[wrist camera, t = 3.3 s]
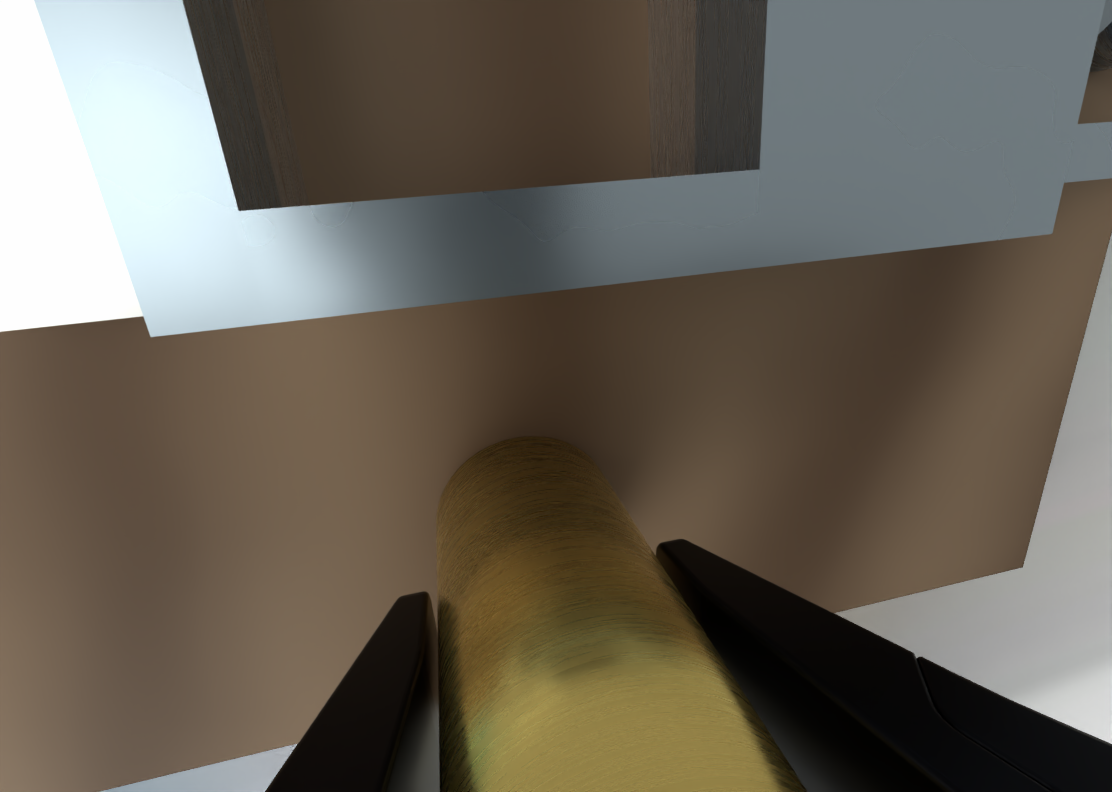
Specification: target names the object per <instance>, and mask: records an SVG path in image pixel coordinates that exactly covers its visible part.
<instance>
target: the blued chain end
mask: <svg viewBox="0 0 1112 792" xmlns="http://www.w3.org/2000/svg"><path fill="white" fill-rule="evenodd" d="M34 2H35V5H36V8H37V10H38V13H39V16H40V19H41V22H42V25H43V28H44V31H45V34H46V36H47V39H48V42H49V45H50V48H51V51H52V54H53V57H54V60H55V62H56V65H57V68H58V71H59V74H60V77H61V80H62V83H63V85H64V88H65V91H66V94H67V97H68V100H69V103H70V106H71V109H72V111H73V114H74V117H75V120H76V123H77V126H78V129H79V132H80V135H81V137H82V140H83V143H84V146H85V149H86V152H87V155H88V158H89V161H90V163H91V166H92V169H93V172H94V175H95V178H96V181H97V184H98V187H99V189H100V192H101V195H102V198H103V201H104V204H105V207H106V210H107V213H108V215H109V218H110V221H111V224H112V227H113V230H114V233H115V236H116V239H117V241H118V244H119V247H120V250H121V253H122V256H123V259H124V262H125V265H126V267H127V270H128V273H129V276H130V279H131V282H132V285H133V288H134V290H135V293H136V296H137V299H138V302H139V305H140V308H141V311H142V314H143V316H144V319H145V322H146V325H147V328H148V331H149V334H150V337H157V336H165V335H174V334H183V333H192V332H200V331H209V330H218V329H226V328H235V327H244V326H253V325H261V324H270V323H279V322H288V321H296V320H305V319H314V318H323V317H331V316H340V315H349V314H357V313H366V312H375V311H384V310H392V309H401V308H410V307H419V306H427V305H436V304H445V303H453V302H462V301H471V300H480V299H488V298H497V297H506V296H515V295H523V294H532V293H541V292H550V291H558V290H567V289H576V288H584V287H593V286H602V285H611V284H619V283H628V282H637V281H646V280H654V279H663V278H672V277H680V276H689V275H698V274H707V273H715V272H724V271H733V270H742V269H750V268H759V267H768V266H777V265H785V264H794V263H803V262H811V261H820V260H829V259H838V258H846V257H855V256H864V255H873V254H881V253H890V252H899V251H907V250H916V249H925V248H934V247H942V246H951V245H960V244H969V243H977V242H986V241H995V240H1004V239H1012V238H1021V237H1030V236H1038V235H1047V234H1052V233H1053V229H1054V224H1055V220H1056V215H1057V211H1058V207H1059V202H1060V198H1061V194H1062V189H1063V185H1064V183H1067V182H1077V181H1088V180H1099V179H1109V178H1112V122H1101V123H1087V124H1078V119H1079V115H1080V111H1081V106H1082V102H1083V98H1084V93H1085V89H1086V84H1087V80H1088V76H1089V72H1095V71H1101V70H1106V69H1111V68H1112V0H696V58H695V168H694V175H684V176H671V177H659V178H646V179H634V180H621V181H609V182H596V183H584V184H571V185H559V186H546V187H534V188H521V189H509V190H496V191H484V192H471V193H459V194H446V195H434V196H421V197H409V198H396V199H384V200H371V201H359V202H346V203H334V204H321V205H309V206H296V207H284V208H282V206H281V201H280V197H279V193H278V189H277V185H276V181H275V176H274V172H273V168H272V164H271V160H270V156H269V151H268V147H267V143H266V139H265V135H264V131H263V126H262V122H261V118H260V114H259V110H258V106H257V101H256V97H255V93H254V89H253V85H252V81H251V76H250V72H249V68H248V64H247V60H246V56H245V51H244V47H243V43H242V39H241V35H240V31H239V26H238V22H237V18H236V14H235V10H234V6H233V1H232V0H34Z"/></svg>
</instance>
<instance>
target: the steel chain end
mask: <svg viewBox="0 0 1112 792" xmlns="http://www.w3.org/2000/svg"><path fill="white" fill-rule="evenodd" d="M232 1H233V6H234V10H235V14H236V18H237V22H238V26H239V31H240V35H241V39H242V43H243V47H244V51H245V56H246V60H247V64H248V68H249V72H250V76H251V81H252V85H253V89H254V93H255V97H256V101H257V106H258V110H259V114H260V118H261V122H262V126H263V131H264V135H265V139H266V143H267V147H268V151H269V156H270V160H271V164H272V168H273V172H274V176H275V181H276V185H277V189H278V193H279V197H280V201H281V206H282V208H284V207H296V206H309V202H308V197H307V193H306V188H305V184H304V179H303V175H302V170H301V166H300V161H299V157H298V152H297V148H296V143H295V139H294V134H293V130H292V125H291V121H290V116H289V112H288V107H287V103H286V99H285V94H284V90H283V85H282V81H281V76H280V72H279V67H278V63H277V58H276V54H275V49H274V45H273V40H272V36H271V31H270V27H269V22H268V18H267V13H266V9H265V4H264V0H232ZM648 41H649V100H650V159H651V178H659V177H671V176H684V175H694V168H695V58H696V0H648ZM141 316H143V314H142V311H141V308H140V305H139V302H138V299H137V296H136V293H135V290H134V288H133V285H132V282H131V279H130V276H129V273H128V270H127V267H126V265H125V262H124V259H123V256H122V253H121V250H120V247H119V244H118V241H117V239H116V236H115V233H114V230H113V227H112V224H111V221H110V218H109V215H108V213H107V210H106V207H105V204H104V201H103V198H102V195H101V192H100V189H99V187H98V184H97V181H96V178H95V175H94V172H93V169H92V166H91V163H90V161H89V158H88V155H87V152H86V149H85V146H84V143H83V140H82V137H81V135H80V132H79V129H78V126H77V123H76V120H75V117H74V114H73V111H72V109H71V106H70V103H69V100H68V97H67V94H66V91H65V88H64V85H63V83H62V80H61V77H60V74H59V71H58V68H57V65H56V62H55V60H54V57H53V54H52V51H51V48H50V45H49V42H48V39H47V36H46V34H45V31H44V28H43V25H42V22H41V19H40V16H39V13H38V10H37V8H36V5H35V2H34V0H0V332H2V331H11V330H20V329H30V328H39V327H48V326H57V325H67V324H76V323H85V322H94V321H104V320H113V319H122V318H131V317H141Z"/></svg>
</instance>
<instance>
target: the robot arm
mask: <svg viewBox="0 0 1112 792" xmlns="http://www.w3.org/2000/svg"><path fill="white" fill-rule="evenodd" d="M656 557H657V559H658V560H659V562H660V563H661V565H662V566H663V568H664V569H665V571H666V573H667V574H668V576H669V577H670V579H671V580H672V582H673V583H674V585H675V586H676V588H677V590H678V591H679V593H680V594H681V596H682V597H683V599H684V600H685V602H686V604H687V605H688V607H689V608H690V610H691V611H692V613H693V614H694V616H695V618H696V619H697V621H698V622H699V624H700V625H701V627H702V628H703V630H704V632H705V633H706V635H707V636H708V638H709V639H710V641H711V642H712V644H713V646H714V647H715V649H716V650H717V652H718V653H719V655H720V656H721V658H722V660H723V661H724V663H725V664H726V666H727V667H728V669H729V670H730V672H731V674H732V675H733V677H734V678H735V680H736V681H737V683H738V684H739V686H740V688H741V689H742V691H743V692H744V694H745V695H746V697H747V698H748V700H749V702H750V703H751V705H752V706H753V708H754V709H755V711H756V712H757V714H758V715H759V717H760V719H761V720H762V722H763V723H764V725H765V726H766V728H767V729H768V731H769V733H770V734H771V736H772V737H773V739H774V740H775V742H776V743H777V745H778V747H779V748H780V750H781V751H782V753H783V754H784V756H785V757H786V759H787V761H788V762H789V764H790V765H791V767H792V768H793V770H794V771H795V773H796V775H797V776H798V778H799V779H800V781H801V782H802V784H803V785H804V787H805V789H806V790H807V792H1112V744H1110V743H1108V742H1106V741H1103V740H1101V739H1099V738H1096V737H1094V736H1092V735H1089V734H1087V733H1084V732H1082V731H1080V730H1077V729H1075V728H1073V727H1071V726H1068V725H1066V724H1064V723H1062V722H1059V721H1057V720H1055V719H1053V718H1050V717H1048V716H1046V715H1044V714H1041V713H1039V712H1037V711H1034V710H1032V709H1030V708H1028V707H1025V706H1023V705H1021V704H1019V703H1016V702H1014V701H1012V700H1010V699H1008V698H1005V697H1003V696H1001V695H999V694H997V693H995V692H993V691H991V690H989V689H987V688H984V687H982V686H980V685H978V684H976V683H974V682H972V681H970V680H968V679H966V678H964V677H961V676H959V675H957V674H955V673H953V672H951V671H949V670H947V669H945V668H943V667H941V666H939V665H937V664H935V663H933V662H931V661H929V660H927V659H925V658H923V657H918V658H917V659H916V656H915V654H914V653H912V652H911V651H909V650H906V649H904V648H902V647H900V646H898V645H896V644H894V643H892V642H890V641H888V640H886V639H884V638H882V637H880V636H878V635H876V634H874V633H872V632H870V631H868V630H866V629H864V628H862V627H860V626H858V625H856V624H854V623H852V622H850V621H848V620H846V619H844V618H842V617H840V616H838V615H836V614H834V613H832V612H830V611H828V610H826V609H824V608H822V607H820V606H818V605H816V604H814V603H812V602H810V601H808V600H806V599H804V598H802V597H800V596H798V595H796V594H794V593H792V592H790V591H788V590H786V589H784V588H782V587H780V586H778V585H776V584H774V583H772V582H770V581H768V580H766V579H764V578H762V577H760V576H758V575H756V574H754V573H752V572H750V571H748V570H746V569H744V568H742V567H740V566H738V565H736V564H734V563H732V562H730V561H728V560H726V559H724V558H722V557H720V556H718V555H716V554H714V553H712V552H710V551H708V550H706V549H704V548H702V547H700V546H698V545H696V544H694V543H692V542H689V541H687V540H685V539H676V540H671V541H666V542H661V543H659V544H658V546H657V548H656ZM265 792H440V775H439V698H438V633H437V627H436V622H435V617H434V612H433V607H432V602H431V598H430V595H429V593H428V592H426V591H422V592H417V593H412V594H407V595H403V596H400V597H399V598H398V599H397V600H396V601H395V603H394V604H393V606H392V607H391V608H390V610H389V611H388V613H387V614H386V616H385V617H384V619H383V620H382V622H381V623H380V625H379V626H378V627H377V629H376V630H375V632H374V633H373V635H372V636H371V638H370V639H369V641H368V642H367V644H366V645H365V646H364V648H363V649H362V651H361V652H360V654H359V655H358V657H357V658H356V660H355V661H354V663H353V664H352V665H351V667H350V668H349V670H348V671H347V673H346V674H345V676H344V677H343V679H342V680H341V682H340V683H339V684H338V686H337V687H336V689H335V690H334V692H333V693H332V695H331V696H330V698H329V699H328V701H327V702H326V703H325V705H324V706H323V708H322V709H321V711H320V712H319V714H318V715H317V717H316V718H315V720H314V721H313V722H312V724H311V725H310V727H309V728H308V730H307V731H306V733H305V734H304V736H303V737H302V739H301V740H300V741H299V743H298V744H297V746H296V747H295V749H294V750H293V752H292V753H291V755H290V756H289V758H288V759H287V760H286V762H285V763H284V765H283V766H282V768H281V769H280V771H279V772H278V774H277V775H276V777H275V778H274V779H273V781H272V782H271V784H270V785H269V787H268V788H267V790H266V791H265Z"/></svg>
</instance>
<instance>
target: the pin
mask: <svg viewBox="0 0 1112 792" xmlns="http://www.w3.org/2000/svg"><path fill="white" fill-rule="evenodd" d="M436 545H437V622H438V698H439V775H440V792H807V790H806V789H805V787H804V785H803V784H802V782H801V781H800V779H799V778H798V776H797V775H796V773H795V771H794V770H793V768H792V767H791V765H790V764H789V762H788V761H787V759H786V757H785V756H784V754H783V753H782V751H781V750H780V748H779V747H778V745H777V743H776V742H775V740H774V739H773V737H772V736H771V734H770V733H769V731H768V729H767V728H766V726H765V725H764V723H763V722H762V720H761V719H760V717H759V715H758V714H757V712H756V711H755V709H754V708H753V706H752V705H751V703H750V702H749V700H748V698H747V697H746V695H745V694H744V692H743V691H742V689H741V688H740V686H739V684H738V683H737V681H736V680H735V678H734V677H733V675H732V674H731V672H730V670H729V669H728V667H727V666H726V664H725V663H724V661H723V660H722V658H721V656H720V655H719V653H718V652H717V650H716V649H715V647H714V646H713V644H712V642H711V641H710V639H709V638H708V636H707V635H706V633H705V632H704V630H703V628H702V627H701V625H700V624H699V622H698V621H697V619H696V618H695V616H694V614H693V613H692V611H691V610H690V608H689V607H688V605H687V604H686V602H685V600H684V599H683V597H682V596H681V594H680V593H679V591H678V590H677V588H676V586H675V585H674V583H673V582H672V580H671V579H670V577H669V576H668V574H667V573H666V571H665V569H664V568H663V566H662V565H661V563H660V562H659V560H658V559H657V557H656V555H655V554H654V552H653V551H652V549H651V548H650V546H649V545H648V543H647V541H646V540H645V538H644V537H643V535H642V534H641V532H640V531H639V529H638V527H637V526H636V524H635V523H634V521H633V520H632V518H631V517H630V515H629V513H628V512H627V510H626V509H625V507H624V506H623V504H622V503H621V501H620V499H619V498H618V496H617V495H616V493H615V492H614V490H613V489H612V487H611V485H610V484H609V482H608V481H607V479H606V478H605V476H604V475H603V473H602V471H601V470H600V469H599V467H598V466H597V465H596V463H595V462H594V461H593V460H592V459H591V458H590V457H589V456H588V455H587V454H586V453H584V452H583V451H581V450H580V449H579V448H577V447H575V446H573V445H571V444H569V443H567V442H564V441H561V440H558V439H554V438H550V437H541V436H523V437H516V438H511V439H507V440H504V441H500V442H498V443H495V444H493V445H490V446H488V447H486V448H484V449H483V450H481V451H479V452H477V453H476V454H475V455H473V456H472V457H470V458H469V459H468V460H467V461H466V462H465V463H464V464H462V465H461V466H460V467H459V468H458V470H457V471H456V472H455V473H454V474H453V476H452V477H451V478H450V480H449V482H448V483H447V485H446V486H445V488H444V491H443V493H442V495H441V498H440V501H439V504H438V508H437V515H436Z"/></svg>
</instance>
